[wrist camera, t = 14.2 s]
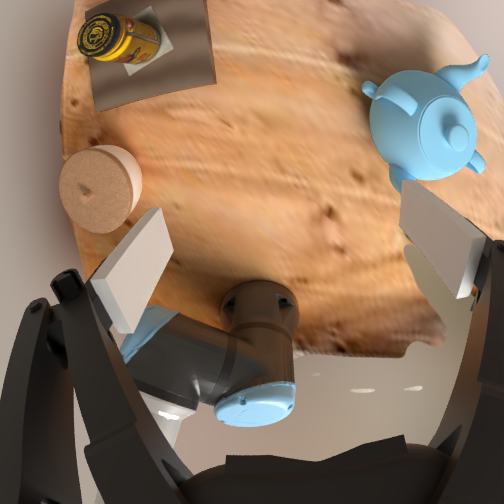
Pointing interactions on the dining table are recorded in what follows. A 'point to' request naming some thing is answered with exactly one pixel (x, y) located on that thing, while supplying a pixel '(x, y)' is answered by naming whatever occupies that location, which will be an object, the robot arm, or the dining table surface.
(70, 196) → the lidded bowl
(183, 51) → the grey flat square piece
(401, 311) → the dining table surface
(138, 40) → the condiment
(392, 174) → the teapot
